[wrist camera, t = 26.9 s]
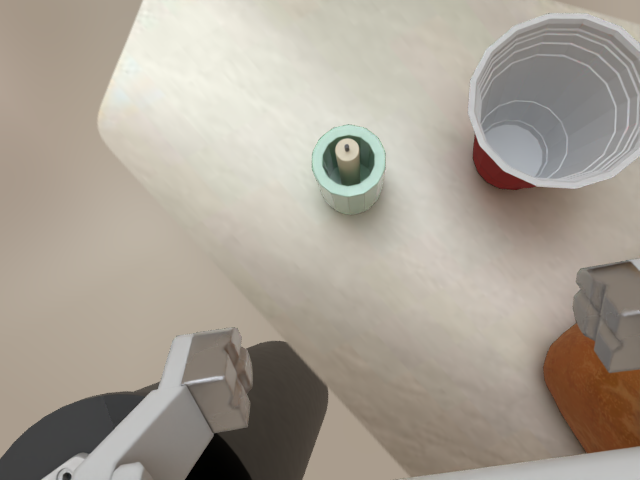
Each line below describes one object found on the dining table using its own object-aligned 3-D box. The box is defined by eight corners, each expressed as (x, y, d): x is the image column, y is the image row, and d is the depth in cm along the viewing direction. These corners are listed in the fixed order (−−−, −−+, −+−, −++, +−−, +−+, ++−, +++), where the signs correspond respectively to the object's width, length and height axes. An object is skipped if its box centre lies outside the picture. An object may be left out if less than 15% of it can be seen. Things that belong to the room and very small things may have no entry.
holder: (336, 225, 40) (330, 209, 33) (310, 170, 41) (299, 143, 34) (392, 199, 40) (398, 177, 33) (365, 144, 41) (366, 112, 34)
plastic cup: (415, 134, 41) (436, 65, 29) (528, 73, 40) (596, -22, 29) (481, 245, 39) (532, 220, 27) (600, 182, 39) (703, 129, 27)
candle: (346, 194, 40) (340, 162, 31) (338, 177, 40) (330, 140, 31) (363, 186, 40) (363, 151, 31) (355, 169, 40) (352, 130, 31)
